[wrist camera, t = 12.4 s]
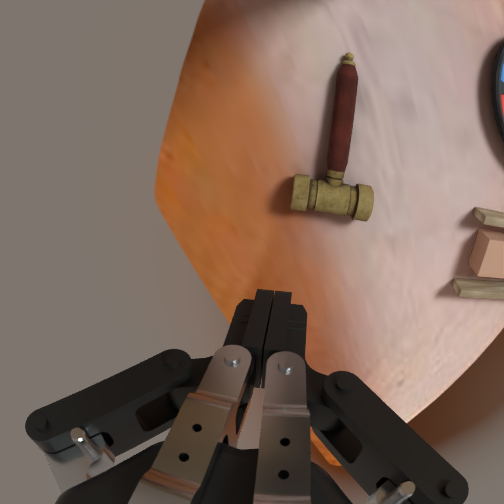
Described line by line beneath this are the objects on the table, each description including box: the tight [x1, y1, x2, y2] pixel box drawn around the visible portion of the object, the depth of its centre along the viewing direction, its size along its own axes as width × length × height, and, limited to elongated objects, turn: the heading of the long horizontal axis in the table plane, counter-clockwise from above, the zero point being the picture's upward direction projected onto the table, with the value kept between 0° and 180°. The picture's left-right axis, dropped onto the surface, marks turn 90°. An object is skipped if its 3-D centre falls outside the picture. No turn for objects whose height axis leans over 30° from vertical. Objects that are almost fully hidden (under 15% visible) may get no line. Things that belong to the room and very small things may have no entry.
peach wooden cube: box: [468, 229, 504, 278], centre depth 37 cm, size 6×6×4 cm
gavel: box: [290, 53, 374, 221], centre depth 35 cm, size 21×5×10 cm
